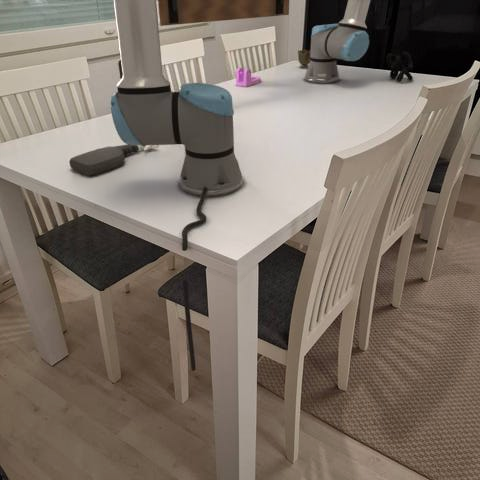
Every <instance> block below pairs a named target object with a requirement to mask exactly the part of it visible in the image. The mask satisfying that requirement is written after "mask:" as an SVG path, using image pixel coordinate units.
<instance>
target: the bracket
mask: <svg viewBox="0 0 480 480" xmlns="http://www.w3.org/2000/svg"><path fill="white" fill-rule="evenodd" d="M261 81H262V78H261V77H260V76H252V70H251V69H250V68H245V69H244V68H243V67H237V68H236V70H235V85H236V86H239V87H245V88H247V87H249V86H252V85H255V84H258V83H261Z"/></svg>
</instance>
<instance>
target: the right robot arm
mask: <svg viewBox="0 0 480 480" xmlns="http://www.w3.org/2000/svg"><path fill="white" fill-rule="evenodd" d="M370 3H371V0H347V4H346V8H345V12H344V16H343V18H342V20H340V21H339V22H338V23H331V24H330V23H329V24H320V25H315V26H313V27H312V29H311V35H310V50H311V54H310V63H309V64H308V67H307V68H306V72H305V75H304V80H305V81H306V82H307V83H311V84H319V85H320V84H323V85H324V84H326V85H327V84H335V83H337V82H339V81H340V74H339V73H340V72H339V69H338V64H337V60H342V61H344V62H345V61H346V62H356V61H358V60H360V59H361V58H362V57H364V55H365V54H366V53H367V51H368V49H369V46H370V39H369V38H370V36H369V33H367V29H368V27H367V25H366V18H367V15H368V11H369V7H370ZM283 5H284V0H276V14H283Z"/></svg>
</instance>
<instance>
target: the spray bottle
mask: <svg viewBox="0 0 480 480" xmlns="http://www.w3.org/2000/svg"><path fill="white" fill-rule="evenodd" d="M159 148H160V145H146V146H141V145H128V144H122V145H113V146H105V147H100V148H97V149H94V150H90V151H87V152H83V153H81V154H78V155H74V156H73V157H70V159H69V161H68V162H69V167H70V168H71V169H72V170H74V171H75V172H78V173H81V174H83V175H85V176H89V177H90V176H91V177H92V176H95V175H99V174H102V173H105V172H107V171H110V170H113V169H116V168H118V167H120V166H122V165H123V164H124V163H125V158H126V156H127V155H131V154H133V153H138V151H140V150H143V151H144V152H146V151H147V150H149V149H159Z"/></svg>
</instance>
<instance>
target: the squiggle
mask: <svg viewBox="0 0 480 480" xmlns="http://www.w3.org/2000/svg"><path fill="white" fill-rule="evenodd" d="M401 57H402V59H401ZM391 59H392V60H391ZM393 60H394V61H393ZM385 61H386V64H387V67H390V68H391V70H390V72H389V78H390V79H391V80H395V79H396V81H397V82H399V83H400V82H402V81H403V79H404V76H406V78H407V80H408V81H412V80H413V79H414V77H413V75H412V74H411V73H410V72H409V71H410V70H412V69H413V68H414V64H413V61H412V57H411V54H410V53H409V52H408V51H403V53H402V54H401V55H396V54H394V53H392V52H390V53H387V55H386V57H385ZM406 62H407V65H408V66H407V67H405V66H404V65H405V64H406ZM400 70H401V71H400Z"/></svg>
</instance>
